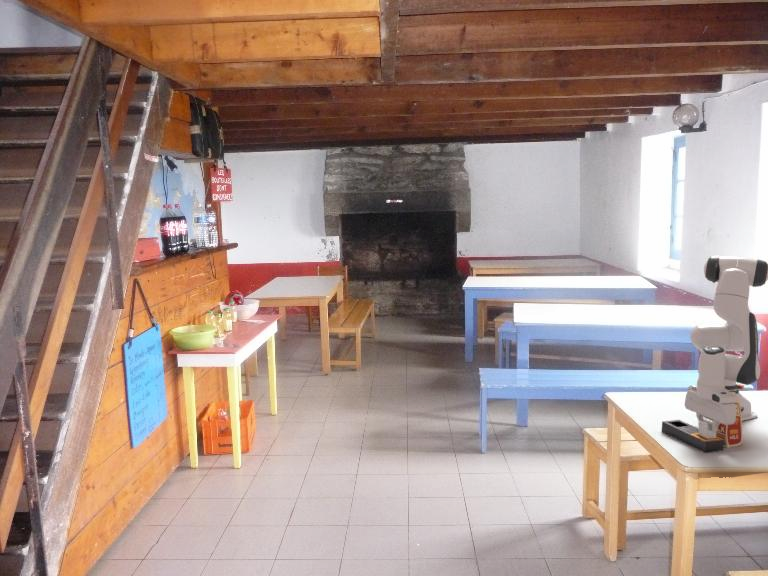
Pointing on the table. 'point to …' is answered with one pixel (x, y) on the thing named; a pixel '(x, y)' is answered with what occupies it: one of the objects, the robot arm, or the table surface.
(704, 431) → the grey square block
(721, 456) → the table surface
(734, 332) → the robot arm
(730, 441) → the milk carton
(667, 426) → the box with square holes
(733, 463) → the table surface
